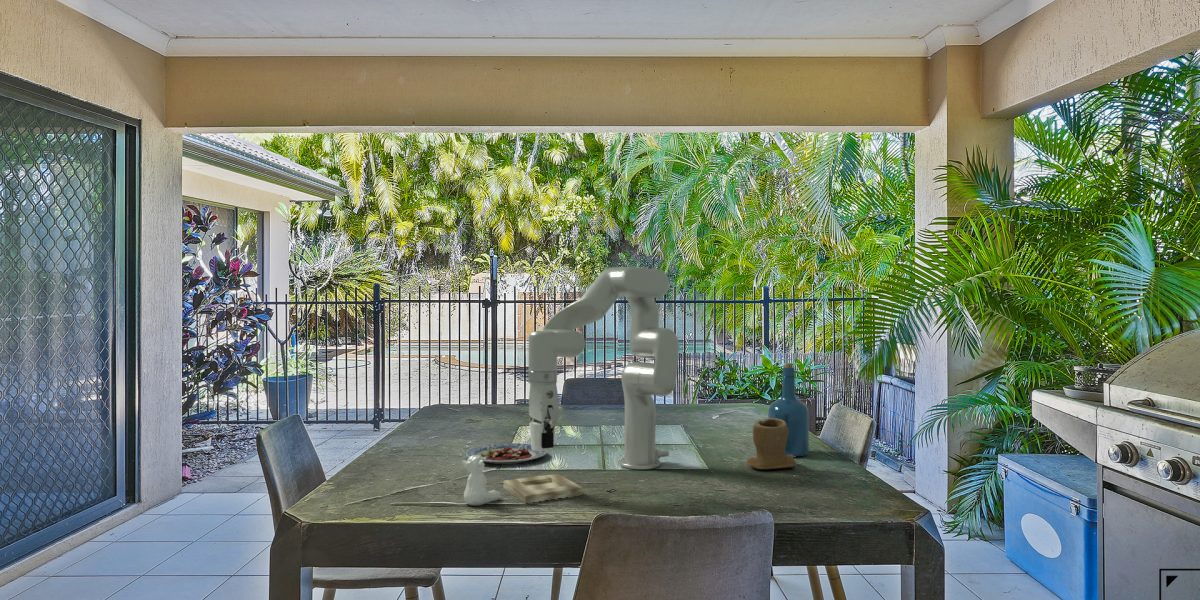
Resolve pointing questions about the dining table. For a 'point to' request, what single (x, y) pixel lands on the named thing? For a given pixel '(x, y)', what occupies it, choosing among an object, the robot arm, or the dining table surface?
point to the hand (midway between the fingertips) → (542, 444)
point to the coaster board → (542, 488)
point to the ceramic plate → (506, 453)
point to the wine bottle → (792, 414)
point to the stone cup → (771, 445)
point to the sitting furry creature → (477, 483)
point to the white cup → (537, 436)
